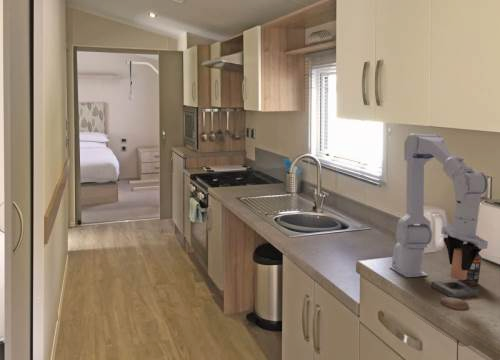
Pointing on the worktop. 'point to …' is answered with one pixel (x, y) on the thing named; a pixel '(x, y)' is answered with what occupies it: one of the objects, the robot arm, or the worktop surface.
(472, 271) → the supplement bottle
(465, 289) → the eye block
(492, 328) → the worktop surface
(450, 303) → the coaster
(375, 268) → the worktop surface
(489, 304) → the worktop surface
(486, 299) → the worktop surface
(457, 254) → the peg
